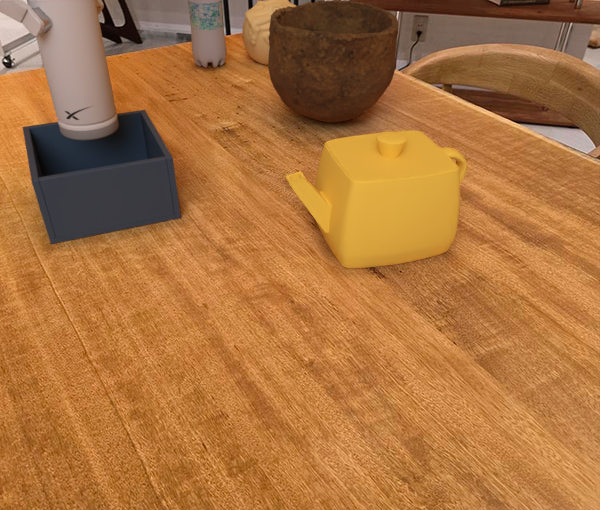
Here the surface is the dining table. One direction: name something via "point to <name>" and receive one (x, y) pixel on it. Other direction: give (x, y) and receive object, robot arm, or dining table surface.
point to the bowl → (332, 57)
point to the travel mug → (77, 69)
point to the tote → (101, 178)
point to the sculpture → (260, 28)
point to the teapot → (384, 197)
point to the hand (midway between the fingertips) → (72, 21)
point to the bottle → (207, 32)
